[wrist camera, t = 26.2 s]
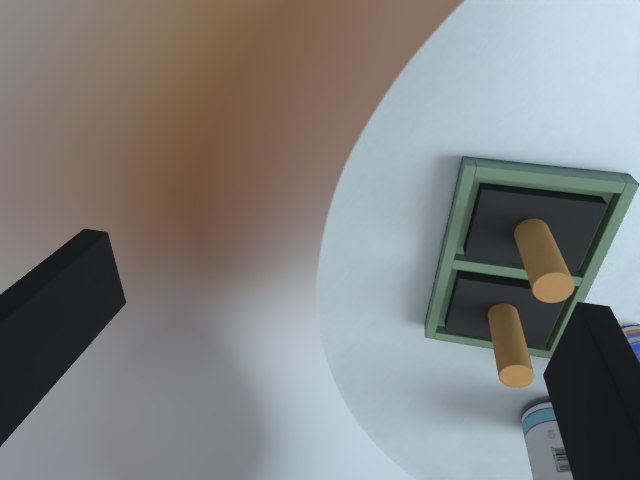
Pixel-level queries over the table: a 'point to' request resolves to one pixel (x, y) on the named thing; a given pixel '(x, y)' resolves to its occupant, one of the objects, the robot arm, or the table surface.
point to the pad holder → (452, 259)
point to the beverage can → (545, 444)
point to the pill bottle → (633, 338)
